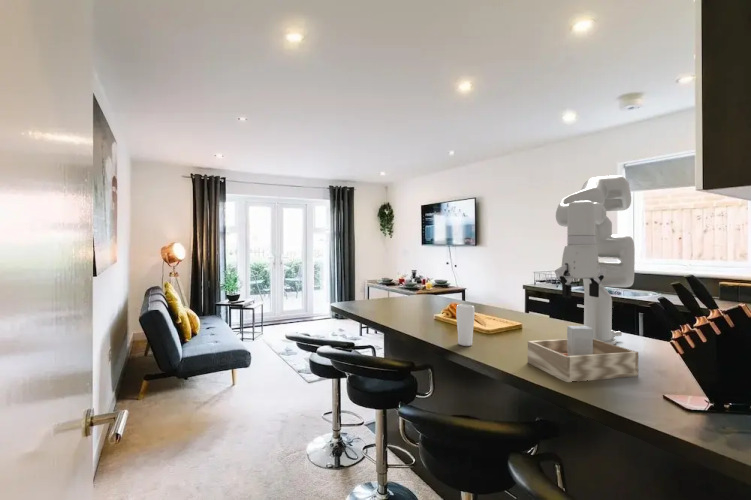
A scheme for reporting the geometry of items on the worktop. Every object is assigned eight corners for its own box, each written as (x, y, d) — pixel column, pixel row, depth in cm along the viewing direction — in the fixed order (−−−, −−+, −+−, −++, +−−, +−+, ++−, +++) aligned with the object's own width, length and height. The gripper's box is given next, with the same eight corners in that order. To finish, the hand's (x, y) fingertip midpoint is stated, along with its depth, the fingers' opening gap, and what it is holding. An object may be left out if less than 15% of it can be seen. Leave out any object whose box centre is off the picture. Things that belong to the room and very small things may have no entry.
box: (590, 358, 128) (591, 337, 128) (638, 376, 110) (638, 352, 110) (527, 362, 123) (527, 341, 123) (566, 382, 105) (566, 357, 105)
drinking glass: (462, 341, 150) (462, 303, 150) (477, 344, 145) (477, 305, 145) (452, 344, 145) (452, 305, 145) (468, 347, 141) (468, 307, 140)
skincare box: (586, 363, 119) (586, 325, 119) (593, 368, 114) (593, 328, 114) (566, 363, 119) (566, 325, 119) (572, 367, 115) (572, 328, 115)
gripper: (595, 241, 122) (594, 294, 122) (548, 241, 118) (547, 296, 119) (614, 241, 115) (614, 298, 115) (565, 241, 111) (564, 299, 111)
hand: (580, 297), depth 117 cm, fingers open, 9 cm apart
